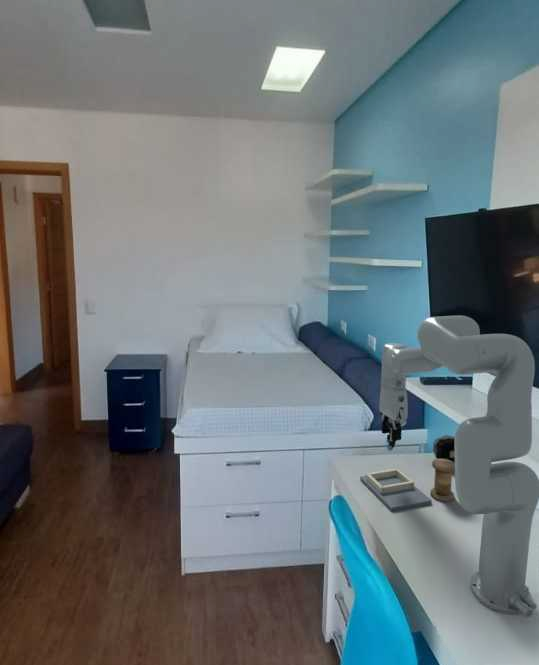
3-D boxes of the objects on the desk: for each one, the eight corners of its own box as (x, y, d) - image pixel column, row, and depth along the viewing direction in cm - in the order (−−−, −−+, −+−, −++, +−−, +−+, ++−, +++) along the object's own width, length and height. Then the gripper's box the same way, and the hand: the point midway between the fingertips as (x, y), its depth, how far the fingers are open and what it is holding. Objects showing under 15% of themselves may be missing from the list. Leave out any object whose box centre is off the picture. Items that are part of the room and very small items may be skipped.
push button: (397, 454, 148) (402, 425, 146) (380, 450, 150) (384, 421, 147) (399, 445, 154) (403, 417, 152) (383, 441, 156) (387, 413, 153)
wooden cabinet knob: (458, 499, 146) (460, 467, 144) (439, 503, 144) (441, 470, 142) (444, 488, 153) (446, 457, 151) (425, 492, 151) (427, 460, 149)
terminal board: (431, 503, 144) (432, 494, 143) (391, 511, 140) (391, 501, 139) (396, 474, 163) (396, 465, 162) (360, 479, 159) (360, 471, 158)
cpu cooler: (457, 459, 173) (459, 433, 171) (466, 466, 168) (468, 440, 166) (431, 461, 172) (432, 435, 170) (438, 468, 166) (440, 442, 165)
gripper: (419, 389, 141) (416, 445, 144) (389, 374, 157) (387, 425, 160) (397, 391, 139) (395, 448, 142) (369, 376, 155) (368, 428, 158)
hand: (391, 435), depth 151 cm, fingers closed on push button, 5 cm apart
